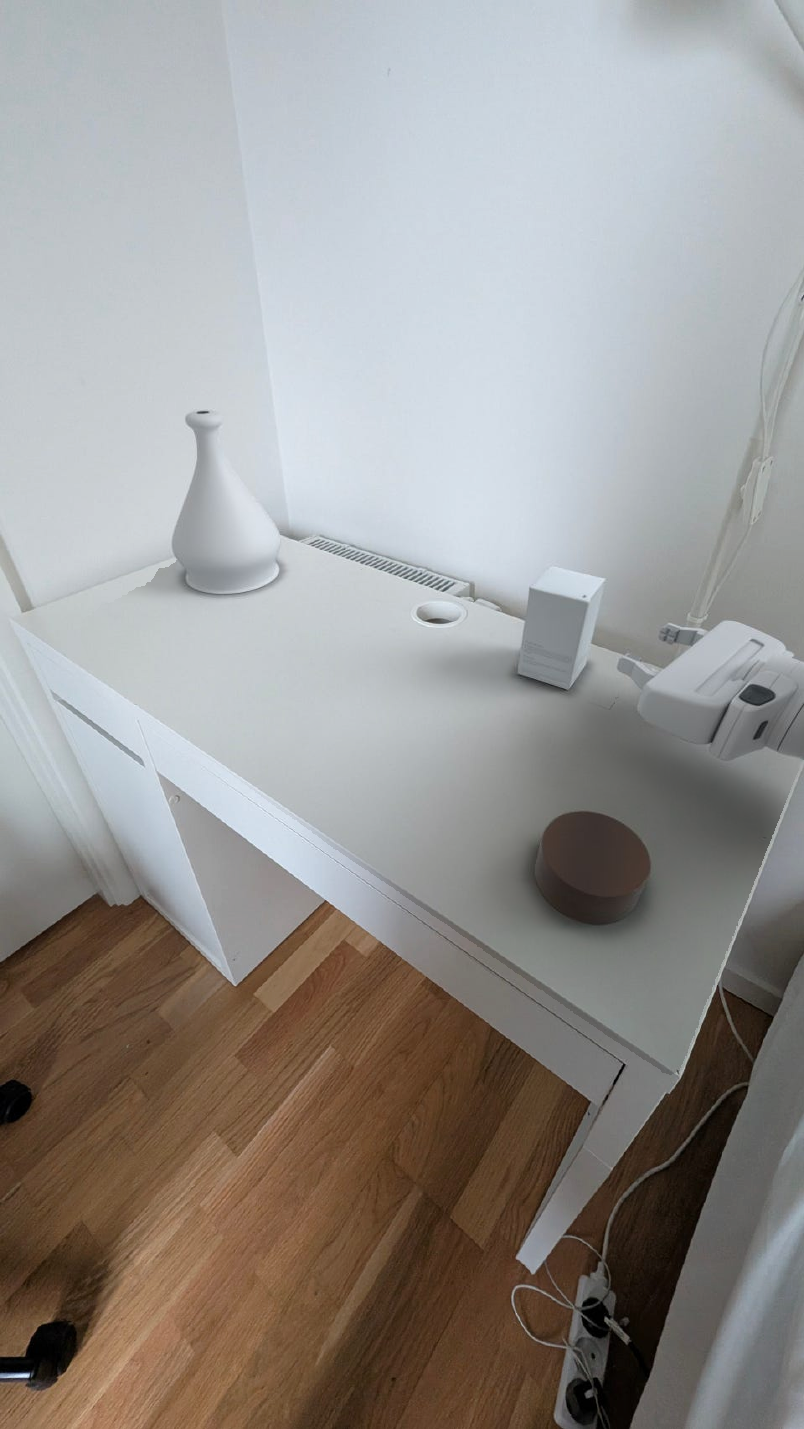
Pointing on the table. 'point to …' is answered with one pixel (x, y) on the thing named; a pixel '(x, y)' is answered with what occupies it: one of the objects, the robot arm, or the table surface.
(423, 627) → the table surface
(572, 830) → the walnut riser
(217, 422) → the vase
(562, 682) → the white packaging box
